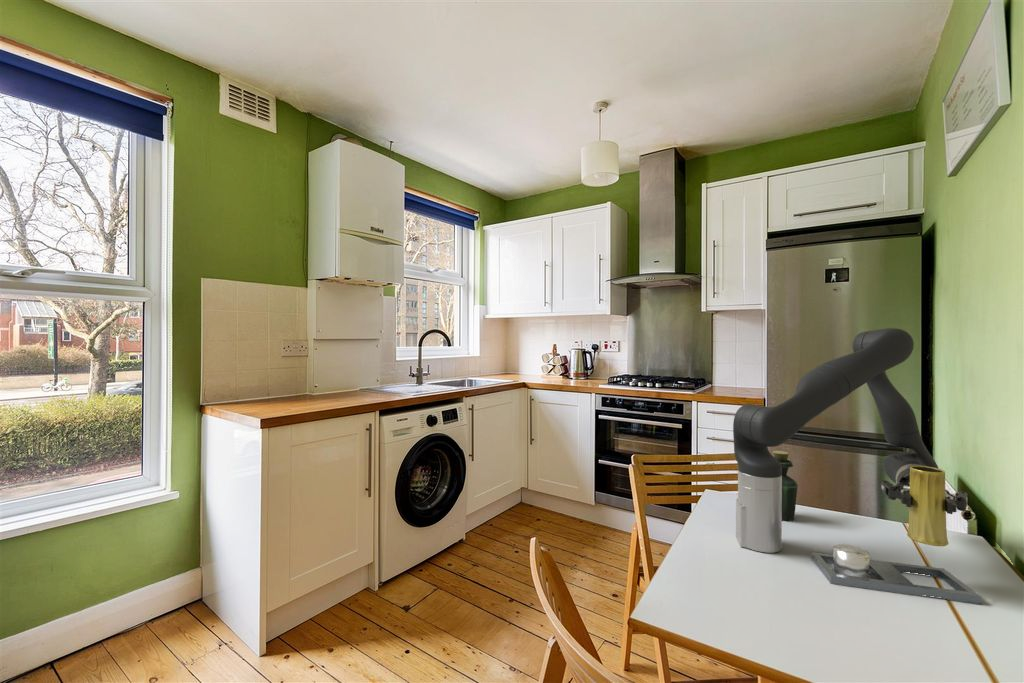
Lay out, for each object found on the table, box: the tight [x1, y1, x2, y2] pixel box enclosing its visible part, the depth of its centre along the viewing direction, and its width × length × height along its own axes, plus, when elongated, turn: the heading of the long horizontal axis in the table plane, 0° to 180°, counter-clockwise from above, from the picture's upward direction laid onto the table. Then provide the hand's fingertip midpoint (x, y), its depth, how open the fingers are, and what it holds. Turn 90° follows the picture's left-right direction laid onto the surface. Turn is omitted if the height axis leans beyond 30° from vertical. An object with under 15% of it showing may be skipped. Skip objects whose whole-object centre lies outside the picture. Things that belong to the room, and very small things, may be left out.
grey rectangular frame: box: [810, 543, 982, 605], centre depth 92 cm, size 24×11×5 cm, turn 73°
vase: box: [906, 466, 949, 547], centre depth 90 cm, size 6×6×14 cm
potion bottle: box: [772, 450, 799, 522], centre depth 126 cm, size 8×8×18 cm
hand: (929, 505), depth 88 cm, fingers closed on vase, 5 cm apart
